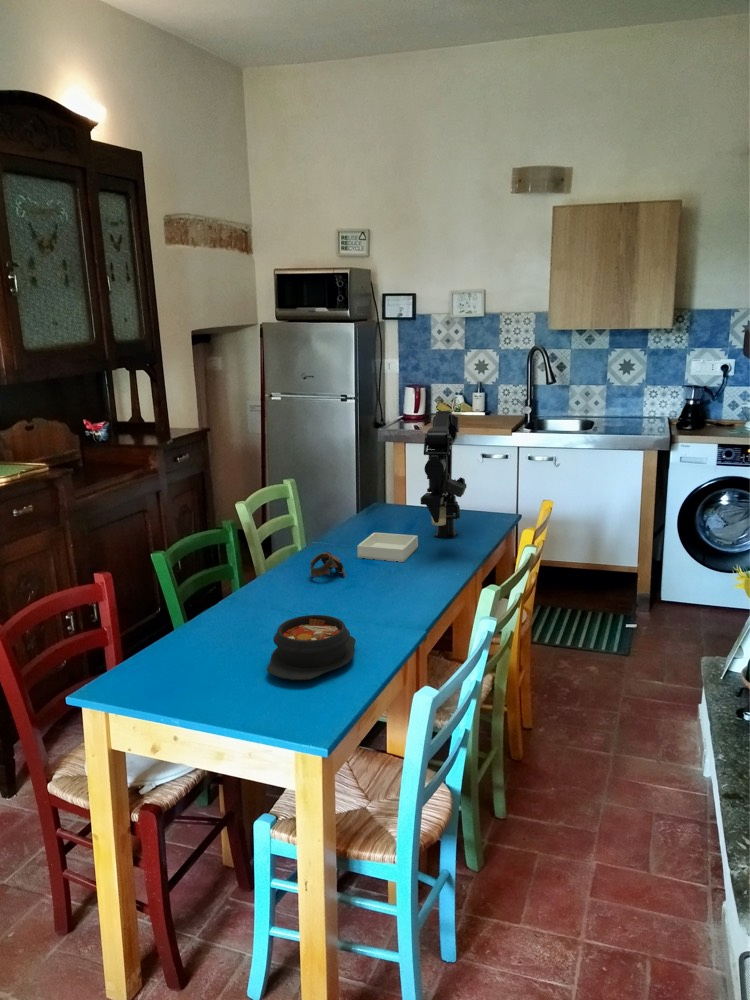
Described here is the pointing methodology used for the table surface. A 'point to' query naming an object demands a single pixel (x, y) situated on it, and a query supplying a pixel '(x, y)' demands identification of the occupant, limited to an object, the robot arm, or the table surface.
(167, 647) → the table surface
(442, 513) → the wooden cylinder
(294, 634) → the casserole
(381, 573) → the table surface
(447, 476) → the robot arm
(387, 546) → the gray and white box
